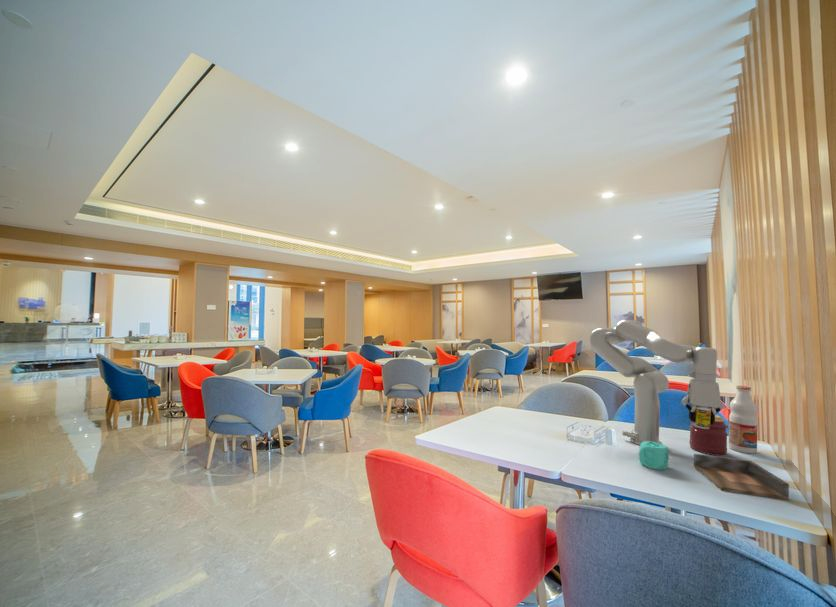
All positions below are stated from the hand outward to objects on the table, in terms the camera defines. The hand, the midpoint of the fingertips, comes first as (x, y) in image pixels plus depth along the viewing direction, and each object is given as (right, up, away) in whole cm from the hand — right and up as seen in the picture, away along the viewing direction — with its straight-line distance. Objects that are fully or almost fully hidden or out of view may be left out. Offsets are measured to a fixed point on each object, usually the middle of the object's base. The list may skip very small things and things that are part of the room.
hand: (701, 421), depth 149 cm
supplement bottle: (0, -2, 0) cm, 2 cm away
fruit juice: (+29, -17, +14) cm, 36 cm away
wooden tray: (-4, -14, -21) cm, 25 cm away
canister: (+11, -16, +11) cm, 23 cm away
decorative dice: (-26, -14, -9) cm, 31 cm away
